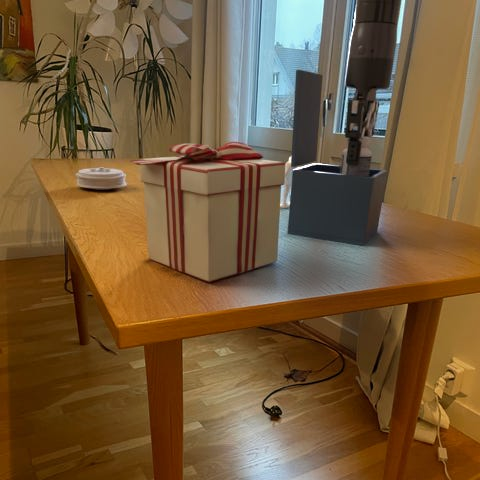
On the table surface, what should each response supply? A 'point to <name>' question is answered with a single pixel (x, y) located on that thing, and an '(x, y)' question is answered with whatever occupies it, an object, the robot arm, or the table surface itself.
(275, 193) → the gift box
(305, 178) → the chest
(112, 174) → the lid
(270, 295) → the table surface
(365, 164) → the pill bottle
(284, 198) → the figurine
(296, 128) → the chest lid
